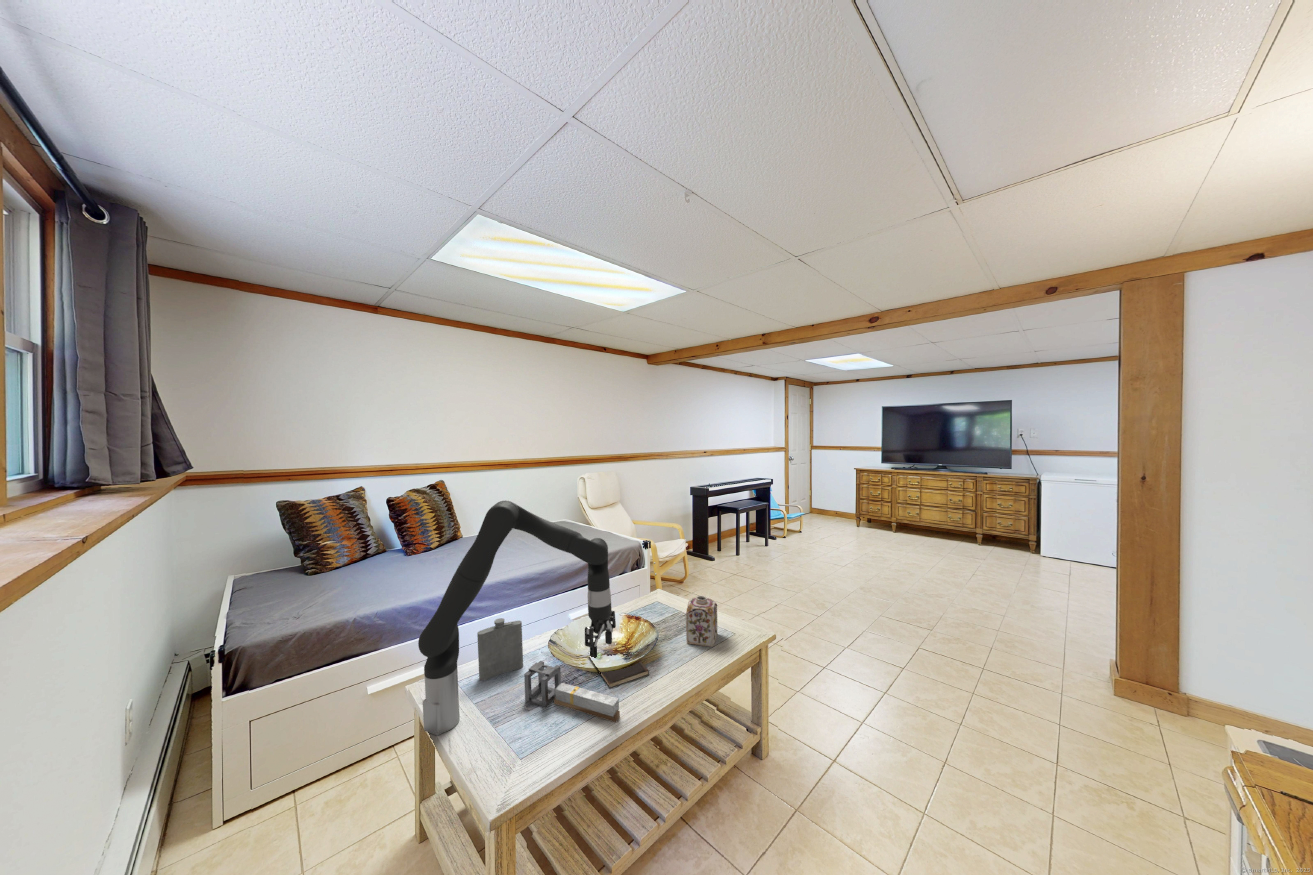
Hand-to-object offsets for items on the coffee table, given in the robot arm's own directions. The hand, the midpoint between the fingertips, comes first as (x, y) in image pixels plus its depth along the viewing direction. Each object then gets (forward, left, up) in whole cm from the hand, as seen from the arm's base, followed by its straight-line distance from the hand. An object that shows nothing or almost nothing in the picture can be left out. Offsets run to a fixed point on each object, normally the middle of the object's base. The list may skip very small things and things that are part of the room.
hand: (601, 649), depth 137 cm
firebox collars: (-3, +22, -20) cm, 30 cm away
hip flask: (+3, +47, -20) cm, 51 cm away
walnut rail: (-3, +5, -20) cm, 21 cm away
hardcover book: (+23, +8, -21) cm, 32 cm away
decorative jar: (+53, -17, -20) cm, 60 cm away
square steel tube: (-3, +5, -18) cm, 19 cm away
